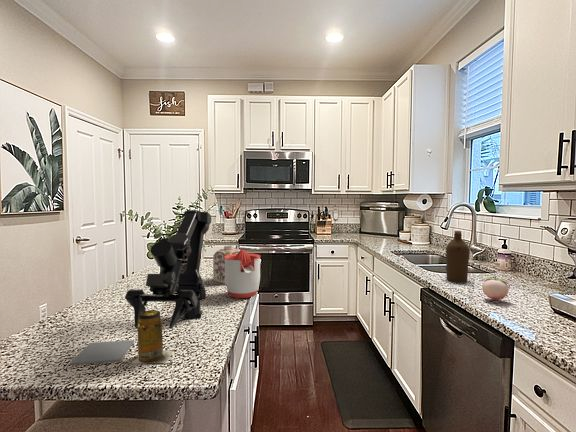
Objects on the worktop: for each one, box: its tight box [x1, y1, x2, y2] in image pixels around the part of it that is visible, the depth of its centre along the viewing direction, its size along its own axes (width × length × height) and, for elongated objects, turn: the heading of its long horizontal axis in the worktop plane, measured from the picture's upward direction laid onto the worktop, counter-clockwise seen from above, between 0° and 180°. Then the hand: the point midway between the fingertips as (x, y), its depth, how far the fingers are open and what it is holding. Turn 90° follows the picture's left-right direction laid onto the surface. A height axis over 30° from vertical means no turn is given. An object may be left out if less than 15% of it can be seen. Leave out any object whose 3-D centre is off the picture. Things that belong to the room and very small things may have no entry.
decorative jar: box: [212, 244, 241, 285], centre depth 170 cm, size 12×12×18 cm
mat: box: [69, 339, 135, 366], centre depth 92 cm, size 12×12×1 cm
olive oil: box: [445, 230, 470, 283], centre depth 170 cm, size 11×11×25 cm
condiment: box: [131, 309, 175, 365], centre depth 89 cm, size 7×8×12 cm
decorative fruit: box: [481, 276, 510, 302], centre depth 136 cm, size 9×8×10 cm
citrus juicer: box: [224, 248, 261, 299], centre depth 145 cm, size 16×17×20 cm
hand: (153, 327), depth 89 cm, fingers open, 9 cm apart
